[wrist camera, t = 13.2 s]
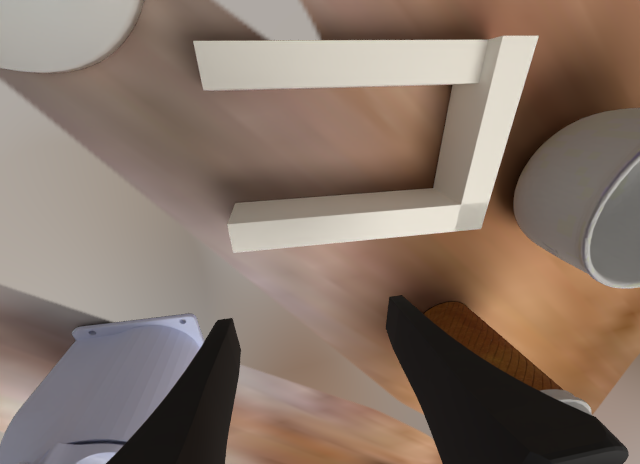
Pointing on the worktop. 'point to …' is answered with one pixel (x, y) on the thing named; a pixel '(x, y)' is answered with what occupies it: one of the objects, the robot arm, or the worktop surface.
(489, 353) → the disposable coffee cup
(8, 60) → the dish
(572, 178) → the teacup
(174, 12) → the worktop surface
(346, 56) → the frame
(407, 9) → the worktop surface
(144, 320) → the robot arm
